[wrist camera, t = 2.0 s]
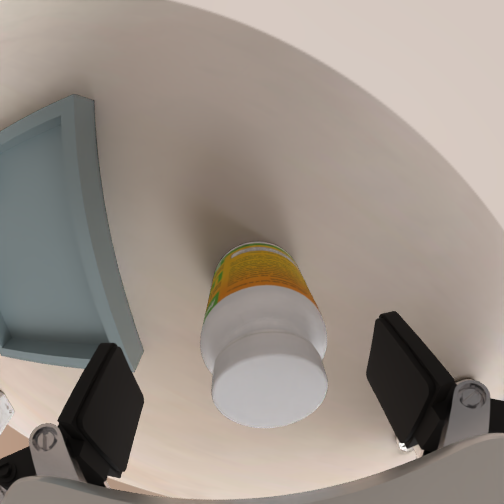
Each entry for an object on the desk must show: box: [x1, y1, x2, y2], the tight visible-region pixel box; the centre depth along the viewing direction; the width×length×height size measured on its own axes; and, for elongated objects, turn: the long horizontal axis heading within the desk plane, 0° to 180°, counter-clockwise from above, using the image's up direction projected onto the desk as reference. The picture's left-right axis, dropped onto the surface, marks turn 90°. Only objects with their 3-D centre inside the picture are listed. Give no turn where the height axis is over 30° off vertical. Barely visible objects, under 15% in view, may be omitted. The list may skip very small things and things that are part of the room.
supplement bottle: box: [200, 242, 328, 428], centre depth 13 cm, size 5×5×10 cm
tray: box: [0, 94, 144, 372], centre depth 15 cm, size 18×16×2 cm
